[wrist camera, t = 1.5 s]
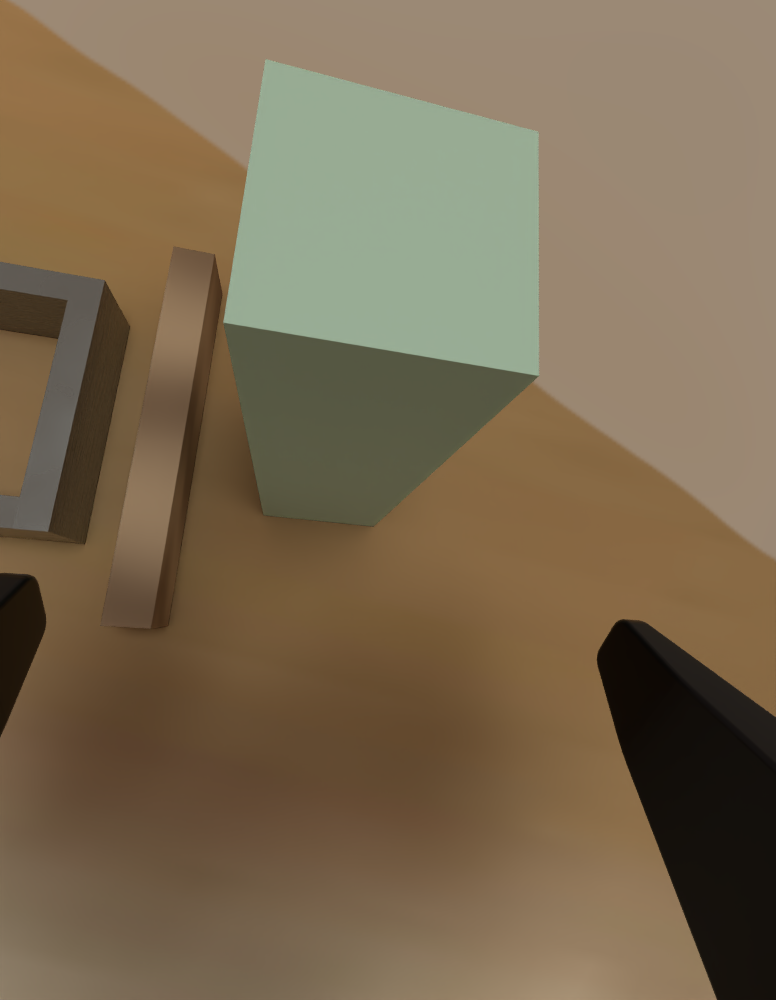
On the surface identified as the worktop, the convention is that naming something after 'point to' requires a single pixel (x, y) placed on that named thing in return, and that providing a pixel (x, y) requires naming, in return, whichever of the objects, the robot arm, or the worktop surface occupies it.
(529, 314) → the bar
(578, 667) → the worktop surface
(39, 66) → the worktop surface
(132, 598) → the brown wooden bar
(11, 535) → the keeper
